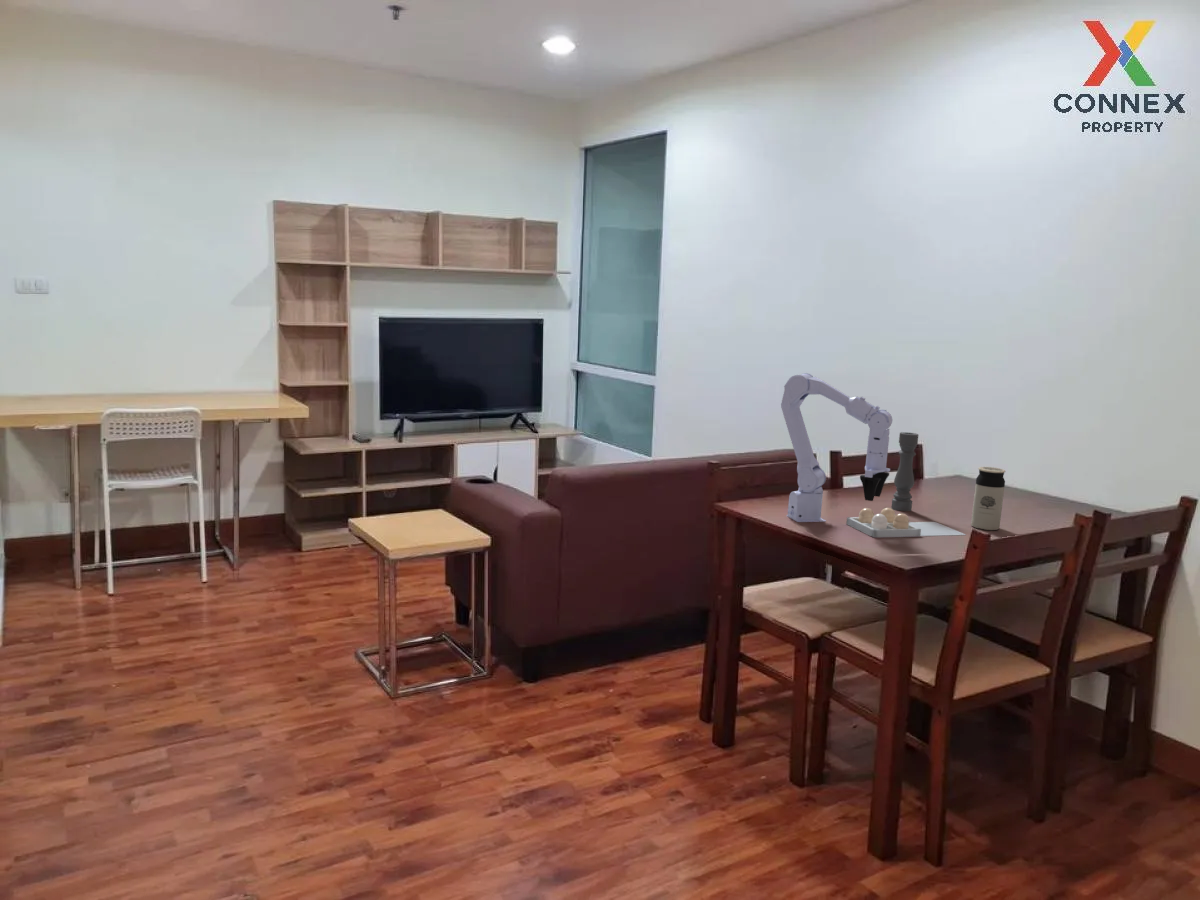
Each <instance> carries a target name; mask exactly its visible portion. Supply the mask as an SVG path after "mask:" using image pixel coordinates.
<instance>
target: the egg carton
mask: <svg viewBox="0 0 1200 900" xmlns="http://www.w3.org/2000/svg"><path fill="white" fill-rule="evenodd" d="M845 524H846V525H847V526H849V527H850V528H853V529H855V530H857V531H860V532H862V533H864V534H865V535H867V536H870V537H872V538H904V537H905V538H907V537H908V538H909V537H911V538H912V537H915V538H916V537H945V536H946V537H947V536H949V537H950V536H951V537H952V536H966V535H967V534H965V533H963V532H962V531H961V532H960V531H958V530H956V529H954V528H951V527H949V526H946V525H944V524H941V523H940V522H936V521H915V522H913V521H909V526H908V529H896V528H894V527H893V523H887V529H873V528H871V525H872V523H861V522H859V516H852V517H848V516H847V517H846V523H845Z"/></svg>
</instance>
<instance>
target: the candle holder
mask: <svg viewBox="0 0 1200 900" xmlns="http://www.w3.org/2000/svg"><path fill="white" fill-rule="evenodd" d="M918 441H919V434H918V433H916V432H903V431H901V432H899V437H898V443H899V444H898V445H899V447H900V450H899V451H898V455H899V465H898V468H897V471H896V475H895V476H894V479H893V483H894V486H895V490H896V491H895V492H894V493H893V495H892V496H893V498H892V499H891V507H890V508H891V509H893V510H894V511H901V512H911V511H912V510H913V509H912V507H913V500H912V498H913V495H912V494H911V492H910V491H912V490H911V489H912V488H913V487H914V485H915V477H914V470H913V461H914V457H915V456H916V455H917V453H916V452H915V449H916V448H917V445H918V443H919V442H918Z"/></svg>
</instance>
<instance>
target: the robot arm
mask: <svg viewBox="0 0 1200 900" xmlns="http://www.w3.org/2000/svg"><path fill="white" fill-rule="evenodd" d="M783 387H784V390H783V395H782V399H781V403H780V408H781V412H782V413H783V414H782V415H783V418H784V422H785V424H786V428H787V432H788V434H789V438H790V441H791V444H792V449H793V450H794V451H793V452H794V456H795V458H796V461H797V466H796V472H797V481H796V482H797V485H798V490H794V491H791V492H790V493H789V496H788V504H787V505H788V506H787V514H786V515H785V516H786V517H788V518H790V519H791V520H793V521H795V522H797V523H809V522H810V523H814V522H815V523H817V522H819V523H820V522H827V520H826V519H823V518H822V509H823V508H822V507H823V497H824V490H823V487H822V486H823V485H824V484H825V483H826V480H827V477H826V473H825V471H824V470H823V469H822V468H821V466H820V463H819V461H818V460H817V458H816V457H815V455H814V451H813V448H812V445H811V442H810V438H809V435H808V432H807V427H806V423H805V421H804V417H803V414H802V411H801V408H800V407H801V405H802V404H803V402H804V400H805V399H806V398H807V397H808V396H810V395H811V396H812V395H813V396H814V395H821V396H822V397H824V398H826V399H828V400H830V401H832V402H834V403H835V404H838V405H840V406H842V407H844V409H845V412H846V414H847V415H849V416H851V417H853V418H854V419H856V420H857V421H859V422H861V423H862V424H865V425H867V426H868V427H869V433H868V437H867V439H868V440H867V446H866V447H867V448H866V457H865V466H864V471H865V472H864V474H860V476H859V479H860V481H861V484H862V488H863V495H864V496H863V497H864V500H865V501H868V502H873V501H874V498H875V497H876V498H877V497H878V498H880V496H881V494H882V491H883V488H884V486H885V485H884V484H885V482H886V481H887V479H888V477H889V476H890V471H891V468H888V467H887V462H888V454H889V453H888V452H889V443H890V427H891V426H892V424H893V417H892V415H891V414H890V412H889V411H887V409H880V408H881V407H880V406H879V405H874V404H872V403H870V402H868V401H866V397H864V396H860V397H859V396H856V395H855V396H853V397H850V396H849V395H847V394H846V393H844V392H842V391H841V390H839V389H838V388H836V387H834V386H833V385H831V384H829V383H827V382H826V381H825V380H823V379H821V378H820V377H817V376H813V375H812V374H811V373H807V372H806V373H801V374H794V375H792V376H791V377H789V378H788V380H787V381H786V383H785V384H784V386H783Z"/></svg>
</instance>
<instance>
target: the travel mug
mask: <svg viewBox="0 0 1200 900" xmlns="http://www.w3.org/2000/svg"><path fill="white" fill-rule="evenodd" d="M977 469H978V472H979V473H978V475H977V477H976V478H975V487H974V496H973V503H972V512H971V522H970V525H971V526H972V527H973V528H975V529H978V528H981V529H980V530H982V529H984V530H983V531H997V530H1000V526H1001V519H1002V510H1003V501H1004V494H1005V485H1006V480H1005V477H1004V475H1005V473H1006V470H1005V468H1004V469H1003V468H999V467H994V466H993V467H992V466H979V467H978V468H977Z"/></svg>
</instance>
